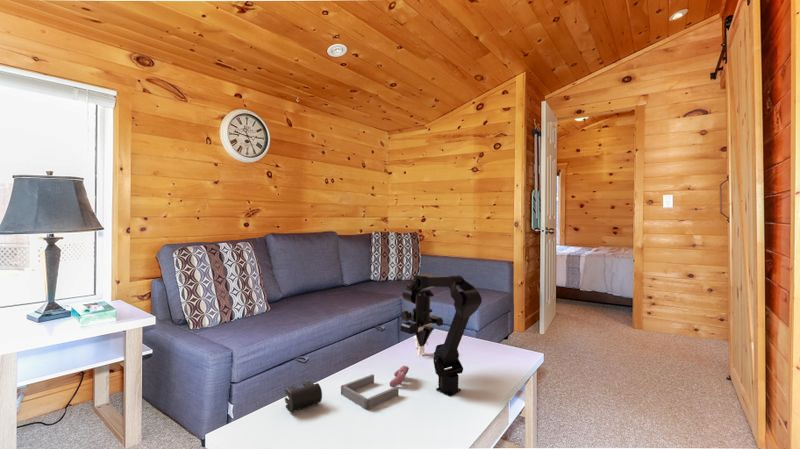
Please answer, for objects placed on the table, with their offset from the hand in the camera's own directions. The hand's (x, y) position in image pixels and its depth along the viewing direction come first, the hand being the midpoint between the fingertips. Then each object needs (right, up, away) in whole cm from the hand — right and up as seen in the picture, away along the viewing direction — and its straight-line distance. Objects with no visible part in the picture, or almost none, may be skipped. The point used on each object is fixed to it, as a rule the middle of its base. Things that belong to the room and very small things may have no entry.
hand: (421, 346), depth 149 cm
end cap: (-40, -12, -26) cm, 49 cm away
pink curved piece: (-9, -11, -7) cm, 16 cm away
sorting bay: (-19, -11, -18) cm, 28 cm away
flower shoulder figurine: (+1, -11, +21) cm, 23 cm away
